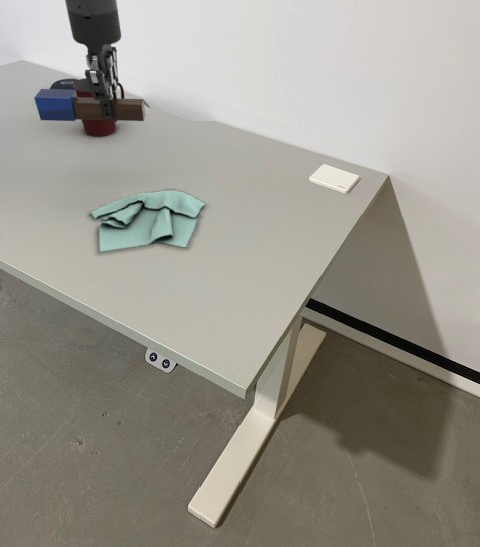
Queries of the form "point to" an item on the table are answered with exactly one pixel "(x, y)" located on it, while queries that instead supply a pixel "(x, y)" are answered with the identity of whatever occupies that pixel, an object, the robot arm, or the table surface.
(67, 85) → the electronic device
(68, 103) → the brush
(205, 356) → the table surface
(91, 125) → the mug
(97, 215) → the cloth
